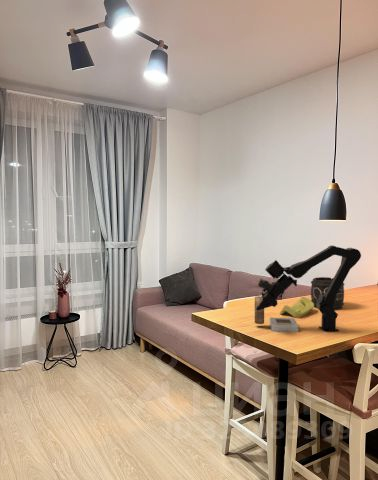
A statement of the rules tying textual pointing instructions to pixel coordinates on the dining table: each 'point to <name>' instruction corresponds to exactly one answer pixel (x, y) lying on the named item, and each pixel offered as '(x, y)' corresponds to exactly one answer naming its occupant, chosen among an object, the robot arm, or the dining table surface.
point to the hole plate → (283, 324)
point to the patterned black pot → (321, 287)
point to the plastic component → (299, 308)
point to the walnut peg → (259, 314)
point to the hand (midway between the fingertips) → (256, 308)
